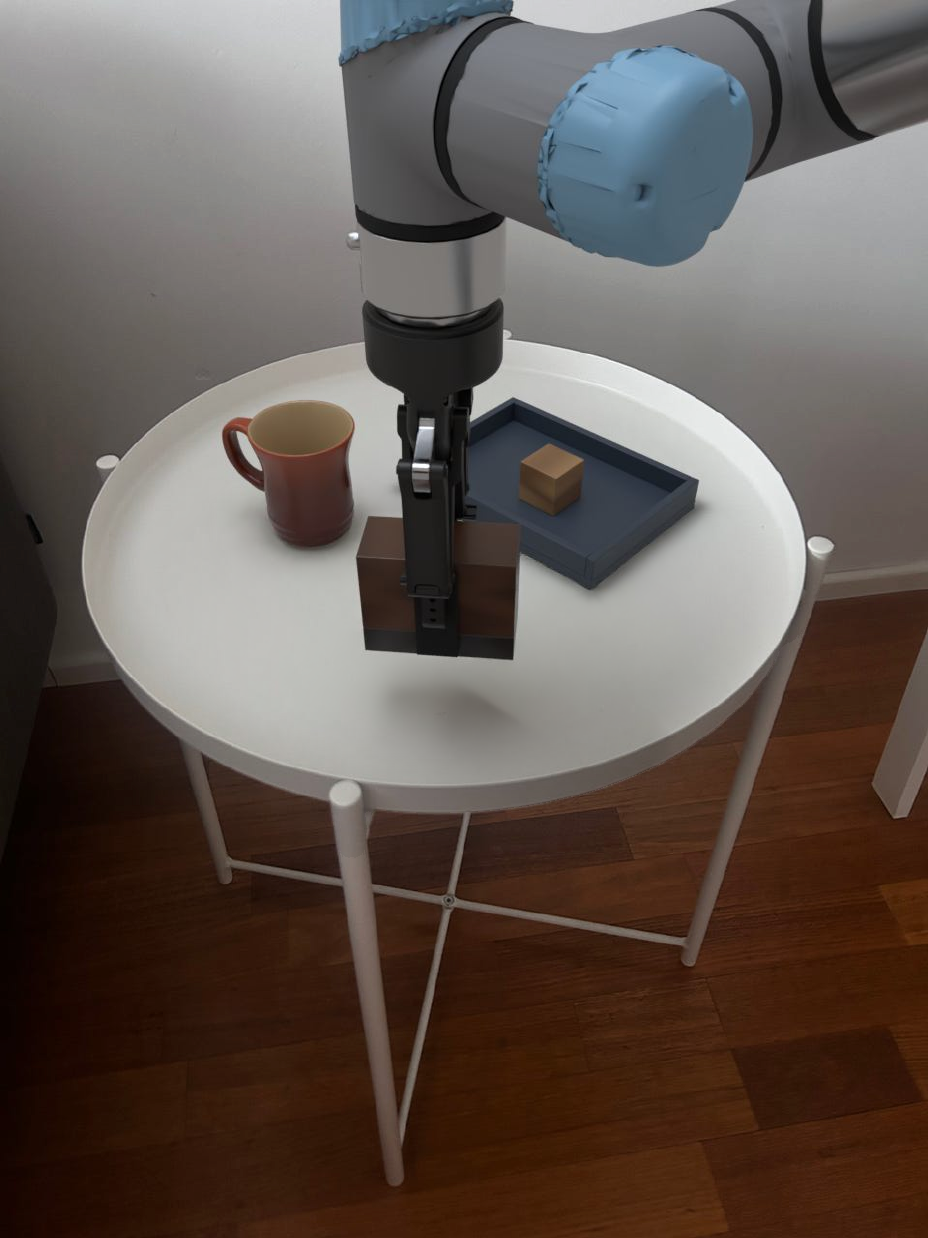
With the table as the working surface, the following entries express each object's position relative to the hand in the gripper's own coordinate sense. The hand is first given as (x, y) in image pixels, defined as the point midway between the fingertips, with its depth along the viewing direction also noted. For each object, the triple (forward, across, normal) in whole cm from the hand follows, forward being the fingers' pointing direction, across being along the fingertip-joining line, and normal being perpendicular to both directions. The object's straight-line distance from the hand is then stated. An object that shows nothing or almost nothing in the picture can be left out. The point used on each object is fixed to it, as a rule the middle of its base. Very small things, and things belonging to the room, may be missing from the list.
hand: (442, 625), depth 69 cm
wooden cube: (+6, -25, +6) cm, 27 cm away
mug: (+7, -20, -16) cm, 26 cm away
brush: (+1, 0, 0) cm, 1 cm away
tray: (+7, -26, +6) cm, 28 cm away
